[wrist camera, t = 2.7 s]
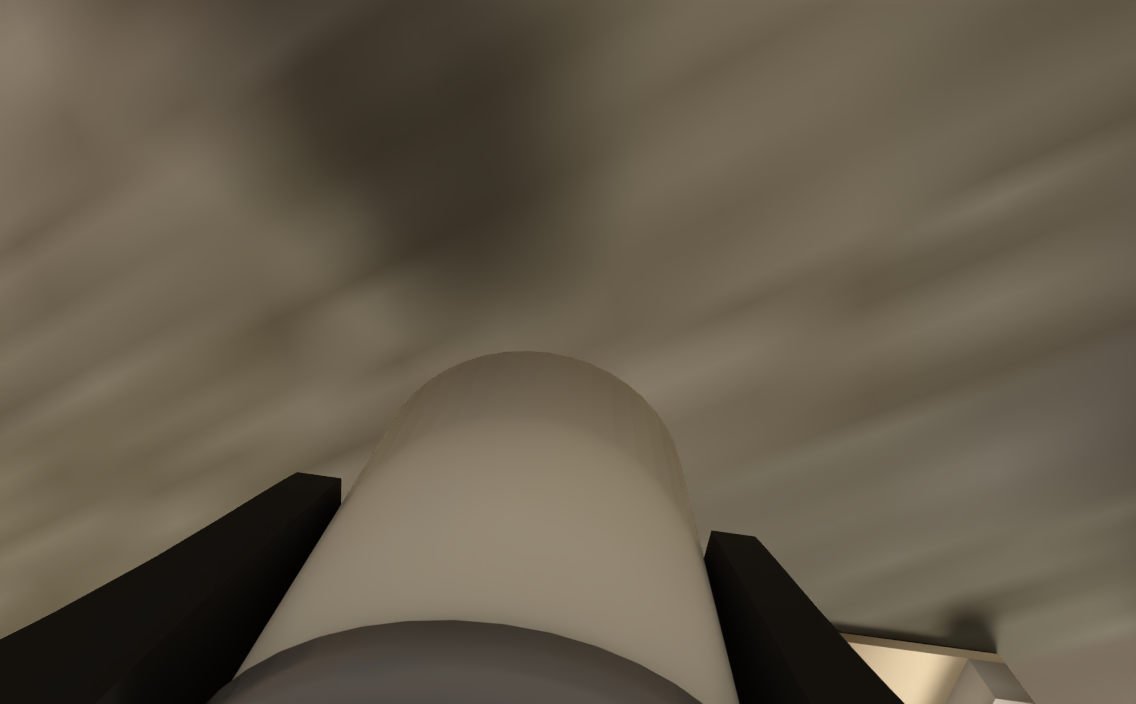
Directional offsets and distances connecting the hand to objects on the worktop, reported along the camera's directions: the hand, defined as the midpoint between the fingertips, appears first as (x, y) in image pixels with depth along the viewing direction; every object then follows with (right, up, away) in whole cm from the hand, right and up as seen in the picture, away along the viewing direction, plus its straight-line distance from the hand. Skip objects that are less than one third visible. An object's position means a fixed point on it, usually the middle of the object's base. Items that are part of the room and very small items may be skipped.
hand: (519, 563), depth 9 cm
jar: (0, +1, +2) cm, 2 cm away
